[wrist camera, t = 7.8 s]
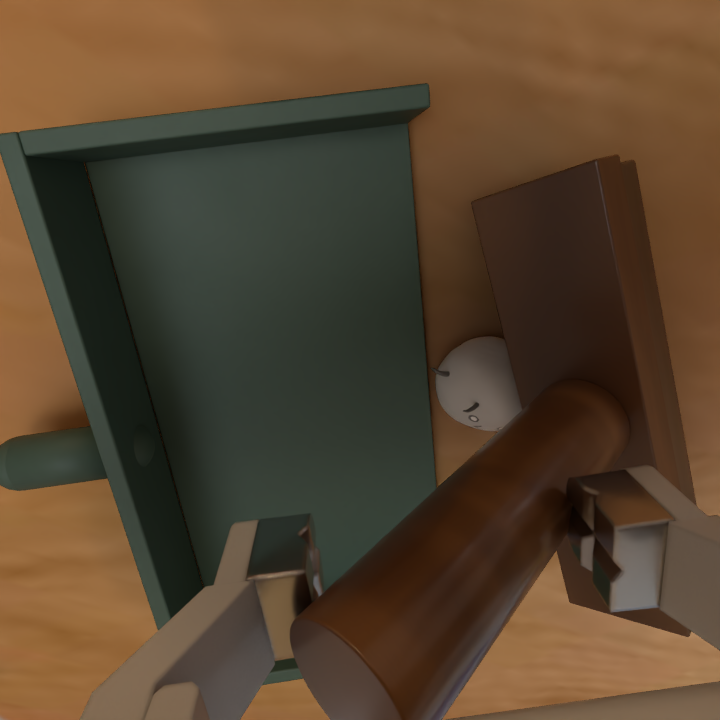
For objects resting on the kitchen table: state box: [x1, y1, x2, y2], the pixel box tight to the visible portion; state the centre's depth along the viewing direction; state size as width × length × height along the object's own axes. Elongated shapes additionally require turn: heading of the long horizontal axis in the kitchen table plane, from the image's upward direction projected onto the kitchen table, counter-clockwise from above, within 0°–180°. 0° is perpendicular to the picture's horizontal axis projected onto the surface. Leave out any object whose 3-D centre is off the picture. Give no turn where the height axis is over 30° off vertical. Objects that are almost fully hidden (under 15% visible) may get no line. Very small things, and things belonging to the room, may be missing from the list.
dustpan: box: [0, 83, 436, 685], centre depth 15 cm, size 13×17×3 cm
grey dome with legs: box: [431, 336, 522, 431], centre depth 16 cm, size 3×4×3 cm
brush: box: [290, 155, 697, 720], centre depth 11 cm, size 3×12×12 cm
